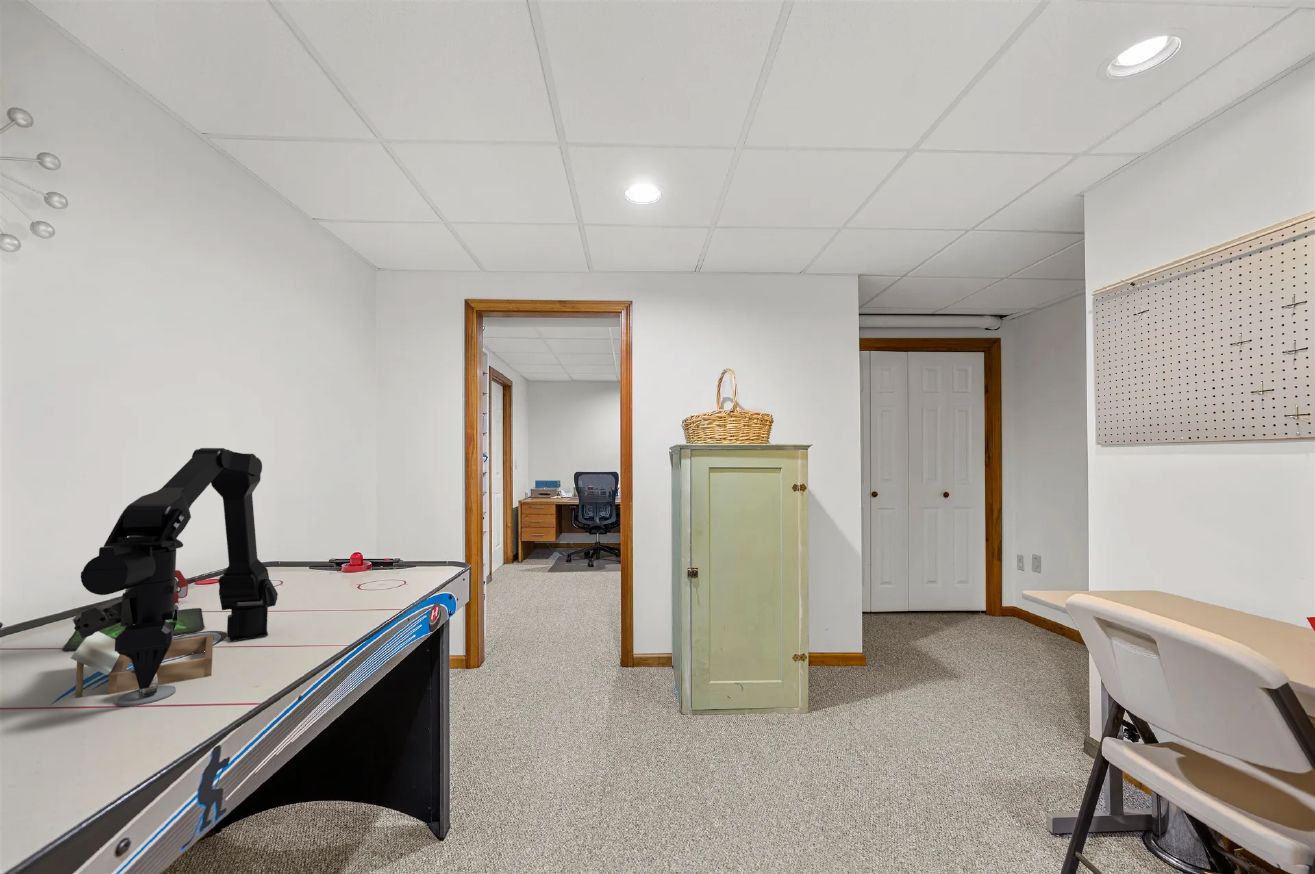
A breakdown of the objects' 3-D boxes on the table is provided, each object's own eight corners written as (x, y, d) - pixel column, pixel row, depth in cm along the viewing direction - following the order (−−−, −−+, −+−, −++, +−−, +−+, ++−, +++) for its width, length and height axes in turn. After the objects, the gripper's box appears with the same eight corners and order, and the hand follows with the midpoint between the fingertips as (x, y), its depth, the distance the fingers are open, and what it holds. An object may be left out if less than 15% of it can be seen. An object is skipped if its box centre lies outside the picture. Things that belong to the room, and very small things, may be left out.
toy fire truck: (187, 604, 146) (189, 564, 147) (121, 612, 138) (124, 570, 139) (187, 599, 152) (189, 561, 152) (124, 607, 144) (126, 566, 144)
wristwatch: (157, 685, 92) (157, 654, 92) (165, 694, 88) (165, 663, 88) (128, 692, 89) (128, 661, 89) (135, 703, 85) (135, 670, 86)
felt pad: (177, 684, 94) (177, 681, 94) (174, 698, 88) (174, 695, 88) (119, 694, 89) (119, 692, 89) (112, 710, 84) (112, 707, 84)
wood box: (212, 649, 111) (214, 613, 111) (211, 675, 98) (213, 634, 98) (88, 669, 100) (90, 629, 101) (67, 701, 87) (70, 655, 87)
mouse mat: (78, 624, 129) (79, 620, 129) (201, 608, 144) (201, 604, 144) (61, 655, 109) (61, 650, 109) (205, 633, 123) (206, 628, 123)
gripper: (91, 577, 92) (86, 673, 91) (67, 599, 77) (61, 714, 77) (180, 569, 99) (176, 658, 98) (173, 588, 84) (168, 693, 83)
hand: (147, 679), depth 89 cm, fingers open, 9 cm apart
